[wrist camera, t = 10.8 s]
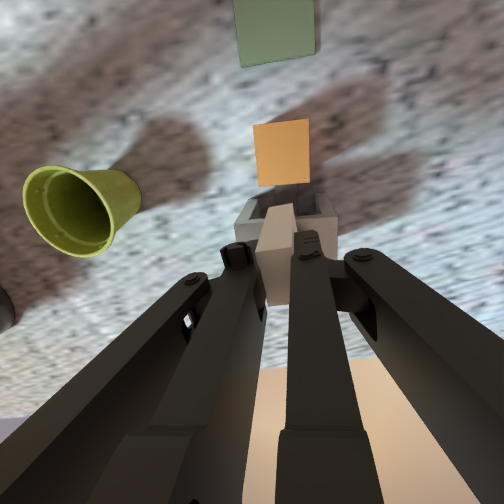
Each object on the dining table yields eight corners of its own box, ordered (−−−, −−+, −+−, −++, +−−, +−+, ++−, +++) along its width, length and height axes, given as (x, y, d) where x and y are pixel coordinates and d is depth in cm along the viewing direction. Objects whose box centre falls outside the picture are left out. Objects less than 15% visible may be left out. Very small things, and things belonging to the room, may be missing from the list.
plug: (273, 266, 35) (269, 297, 29) (261, 125, 28) (252, 125, 22) (307, 265, 34) (311, 296, 28) (305, 120, 27) (308, 118, 21)
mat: (241, 67, 26) (240, 66, 25) (230, -29, 23) (229, -32, 22) (314, 54, 25) (314, 53, 24) (312, -49, 22) (313, -53, 21)
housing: (254, 244, 34) (239, 293, 24) (248, 198, 31) (228, 232, 22) (325, 240, 32) (340, 291, 22) (325, 192, 30) (341, 224, 20)
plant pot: (163, 226, 35) (126, 255, 27) (100, 231, 36) (48, 260, 29) (142, 151, 31) (91, 159, 23) (73, 160, 32) (3, 171, 25)
